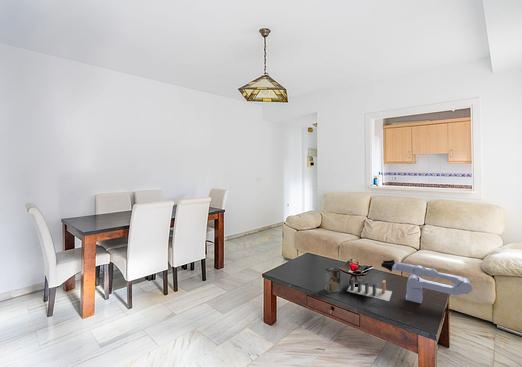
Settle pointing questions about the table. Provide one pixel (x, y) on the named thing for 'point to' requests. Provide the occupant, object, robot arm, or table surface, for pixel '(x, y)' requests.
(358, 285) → the domino
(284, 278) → the table surface
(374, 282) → the domino
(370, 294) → the grey mat
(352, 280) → the domino
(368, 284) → the domino
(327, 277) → the coffee box
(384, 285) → the domino
